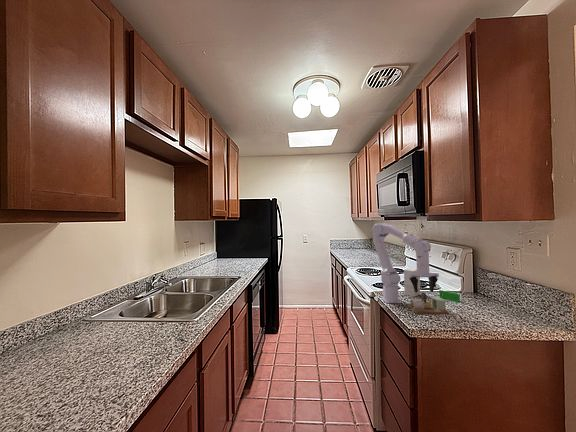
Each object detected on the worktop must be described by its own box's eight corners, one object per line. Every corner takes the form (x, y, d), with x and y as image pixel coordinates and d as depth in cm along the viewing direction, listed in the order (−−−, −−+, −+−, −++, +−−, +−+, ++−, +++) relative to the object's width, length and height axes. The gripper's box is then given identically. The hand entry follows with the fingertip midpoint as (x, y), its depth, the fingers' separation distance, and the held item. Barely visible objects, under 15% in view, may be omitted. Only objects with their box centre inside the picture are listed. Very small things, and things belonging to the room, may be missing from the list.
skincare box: (410, 292, 171) (409, 267, 171) (421, 294, 166) (420, 268, 166) (403, 295, 166) (403, 269, 166) (414, 297, 161) (413, 270, 161)
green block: (463, 302, 150) (462, 293, 150) (458, 303, 148) (458, 294, 148) (443, 297, 160) (443, 289, 160) (439, 298, 158) (439, 290, 158)
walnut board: (406, 306, 144) (406, 304, 144) (435, 305, 144) (435, 304, 144) (416, 314, 132) (416, 311, 132) (448, 313, 132) (448, 311, 132)
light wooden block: (412, 305, 140) (411, 292, 140) (428, 305, 139) (427, 292, 140) (414, 307, 137) (414, 293, 137) (431, 307, 136) (430, 293, 137)
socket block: (431, 305, 141) (431, 296, 141) (438, 305, 141) (437, 296, 141) (438, 309, 134) (437, 300, 134) (445, 309, 134) (445, 300, 134)
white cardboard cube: (410, 306, 140) (410, 298, 140) (420, 306, 140) (420, 298, 140) (414, 309, 136) (413, 301, 136) (424, 309, 136) (424, 301, 136)
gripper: (411, 266, 135) (412, 294, 134) (441, 265, 134) (442, 293, 134) (405, 264, 142) (406, 290, 141) (434, 263, 141) (435, 290, 141)
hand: (423, 291), depth 138 cm, fingers open, 7 cm apart
